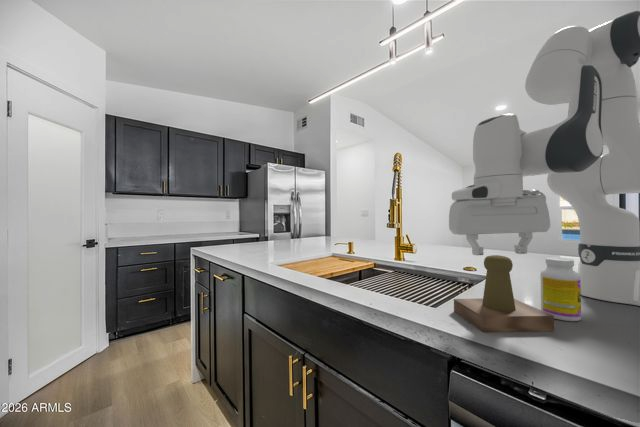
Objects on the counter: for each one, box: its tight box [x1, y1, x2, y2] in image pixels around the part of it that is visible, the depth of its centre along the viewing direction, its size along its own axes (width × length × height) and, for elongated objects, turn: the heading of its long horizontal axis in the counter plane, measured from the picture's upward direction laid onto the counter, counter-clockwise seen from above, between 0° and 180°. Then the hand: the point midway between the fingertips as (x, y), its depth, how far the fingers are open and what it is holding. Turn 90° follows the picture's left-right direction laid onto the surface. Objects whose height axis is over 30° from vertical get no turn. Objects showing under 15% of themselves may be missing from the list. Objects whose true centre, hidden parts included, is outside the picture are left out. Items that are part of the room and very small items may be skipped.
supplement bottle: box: [540, 257, 582, 322], centre depth 59 cm, size 7×7×13 cm
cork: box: [482, 254, 516, 312], centre depth 57 cm, size 6×6×11 cm
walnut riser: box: [453, 298, 555, 333], centre depth 57 cm, size 14×11×3 cm
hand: (499, 254), depth 57 cm, fingers open, 8 cm apart
